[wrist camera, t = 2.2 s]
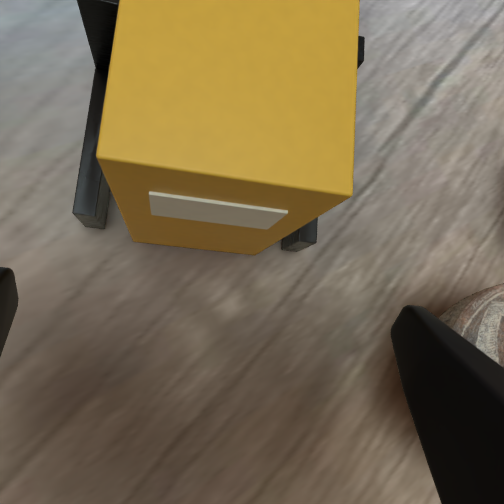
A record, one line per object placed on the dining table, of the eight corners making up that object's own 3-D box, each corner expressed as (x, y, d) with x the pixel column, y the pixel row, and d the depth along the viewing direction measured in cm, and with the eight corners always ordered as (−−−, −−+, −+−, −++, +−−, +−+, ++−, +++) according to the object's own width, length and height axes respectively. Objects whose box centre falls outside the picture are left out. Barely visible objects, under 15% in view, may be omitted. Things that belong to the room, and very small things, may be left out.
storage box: (255, 257, 22) (353, 200, 11) (132, 243, 21) (94, 161, 9) (264, 133, 24) (362, -37, 12) (149, 112, 22) (134, -102, 11)
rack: (297, 251, 23) (358, 224, 16) (85, 227, 21) (42, 181, 13) (305, 118, 24) (365, 36, 17) (107, 80, 22) (79, -33, 15)
